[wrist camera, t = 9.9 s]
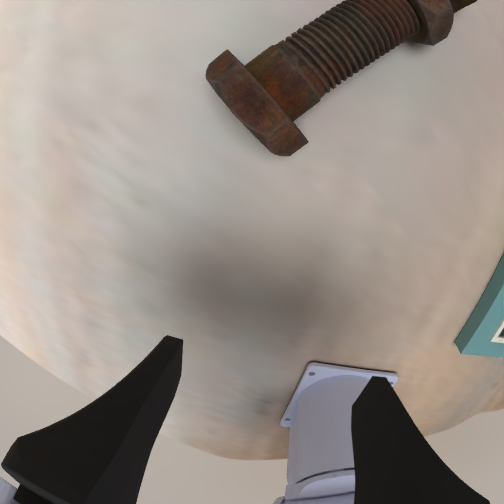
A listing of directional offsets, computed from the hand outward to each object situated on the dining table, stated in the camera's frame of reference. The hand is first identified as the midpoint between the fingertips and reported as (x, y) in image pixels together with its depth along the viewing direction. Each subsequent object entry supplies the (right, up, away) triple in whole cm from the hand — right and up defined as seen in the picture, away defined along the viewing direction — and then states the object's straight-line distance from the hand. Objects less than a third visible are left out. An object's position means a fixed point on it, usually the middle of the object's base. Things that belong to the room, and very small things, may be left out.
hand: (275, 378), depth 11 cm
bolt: (+5, +16, +2) cm, 17 cm away
